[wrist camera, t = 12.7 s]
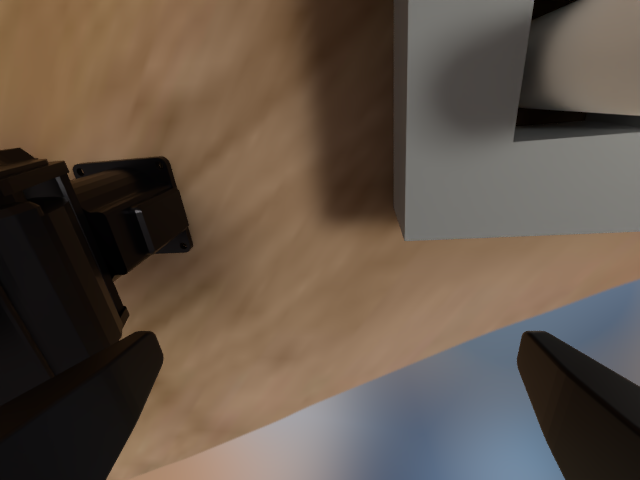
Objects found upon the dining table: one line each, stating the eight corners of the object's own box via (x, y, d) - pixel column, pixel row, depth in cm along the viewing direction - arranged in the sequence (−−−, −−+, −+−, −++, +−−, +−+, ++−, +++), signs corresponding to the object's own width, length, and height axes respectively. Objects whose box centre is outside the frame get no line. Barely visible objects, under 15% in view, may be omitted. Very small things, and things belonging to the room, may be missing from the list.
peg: (488, 111, 17) (647, 128, 8) (499, 22, 15) (716, -91, 6) (571, 104, 16) (846, 113, 7) (591, 11, 15) (981, -132, 5)
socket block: (393, 207, 19) (404, 240, 15) (393, -96, 14) (411, -190, 9) (649, 193, 17) (750, 226, 13) (772, -166, 12) (1029, -329, 7)
